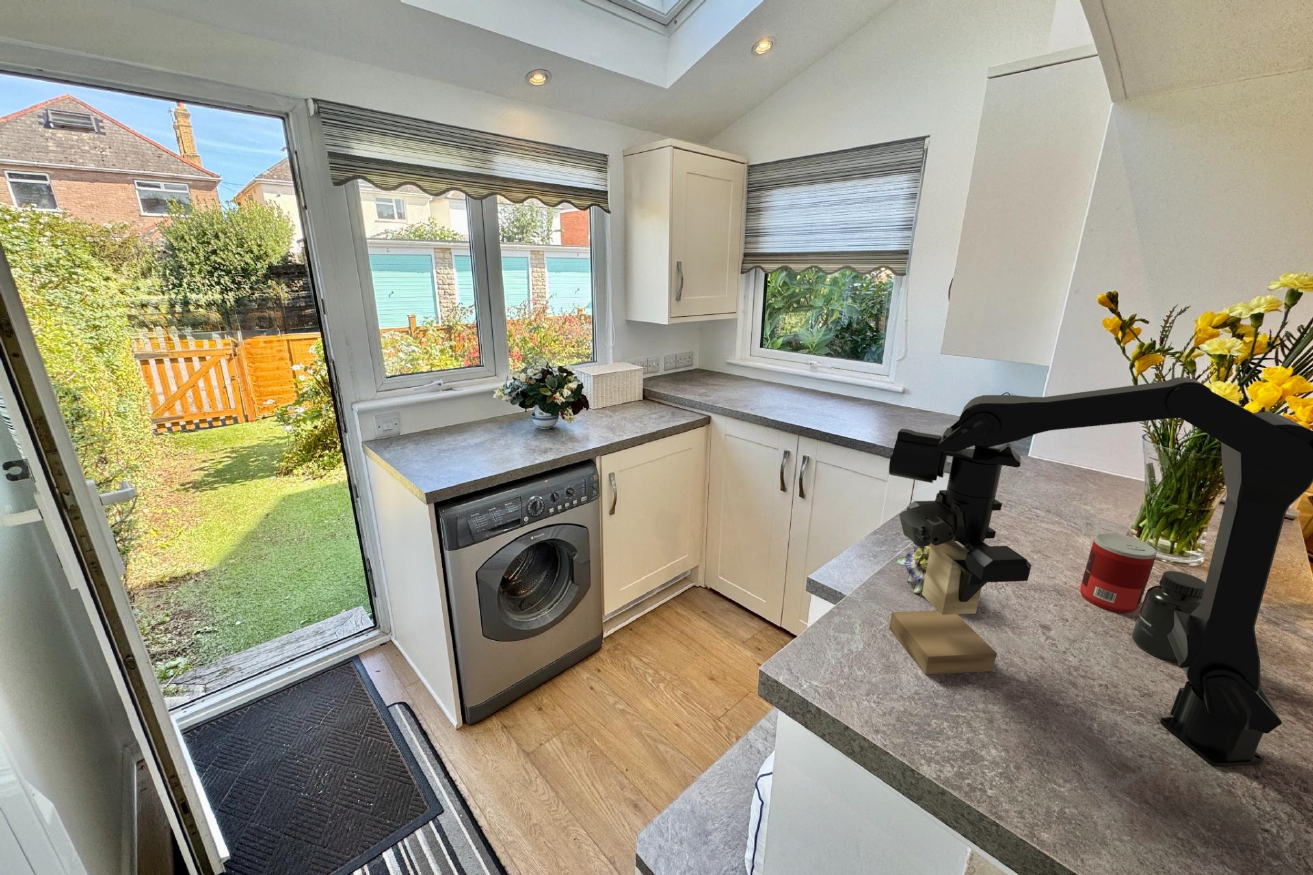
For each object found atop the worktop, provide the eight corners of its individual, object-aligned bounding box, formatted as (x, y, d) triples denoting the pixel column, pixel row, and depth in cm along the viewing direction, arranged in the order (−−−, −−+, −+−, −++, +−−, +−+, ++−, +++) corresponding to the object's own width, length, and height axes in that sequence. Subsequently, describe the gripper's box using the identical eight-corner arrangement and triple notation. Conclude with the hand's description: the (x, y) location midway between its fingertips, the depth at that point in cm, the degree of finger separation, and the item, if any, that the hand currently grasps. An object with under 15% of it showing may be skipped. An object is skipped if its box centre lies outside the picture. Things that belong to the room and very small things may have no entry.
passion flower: (914, 619, 94) (881, 557, 96) (949, 591, 99) (917, 532, 101) (969, 618, 84) (932, 549, 86) (1005, 588, 89) (969, 523, 91)
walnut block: (992, 671, 74) (997, 653, 73) (925, 674, 73) (928, 656, 72) (949, 625, 84) (952, 609, 83) (889, 628, 83) (891, 612, 82)
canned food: (1149, 617, 87) (1169, 558, 83) (1094, 610, 88) (1112, 552, 85) (1120, 591, 94) (1137, 535, 91) (1069, 585, 95) (1085, 530, 92)
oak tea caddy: (978, 614, 74) (990, 558, 71) (941, 615, 73) (952, 559, 71) (954, 592, 79) (965, 539, 76) (919, 593, 78) (929, 540, 76)
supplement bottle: (1120, 639, 81) (1142, 570, 78) (1147, 629, 84) (1170, 562, 80) (1174, 668, 75) (1201, 596, 72) (1202, 657, 77) (1230, 587, 74)
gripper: (880, 466, 79) (866, 558, 84) (957, 522, 61) (935, 635, 66) (950, 465, 80) (933, 556, 85) (1047, 519, 62) (1019, 631, 67)
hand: (950, 590), depth 75 cm, fingers closed on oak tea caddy, 5 cm apart
